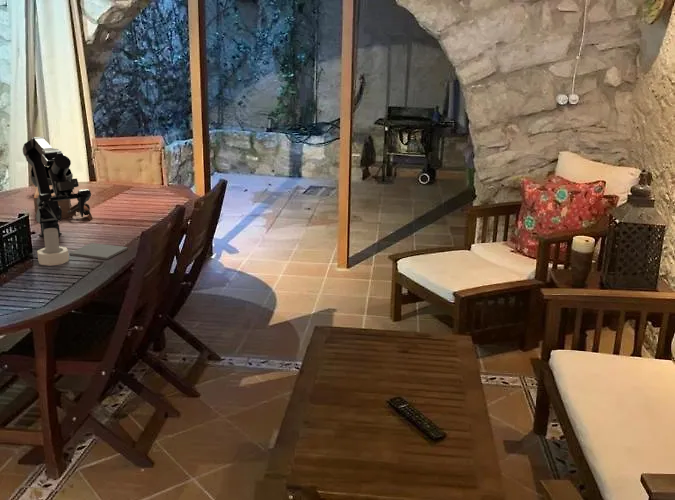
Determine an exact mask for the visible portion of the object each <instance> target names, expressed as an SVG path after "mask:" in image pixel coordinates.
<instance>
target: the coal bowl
mask: <svg viewBox="0 0 675 500" xmlns="http://www.w3.org/2000/svg"><path fill="white" fill-rule="evenodd" d="M44 166H45V165H44ZM51 167H52V166H45V170H46V175H47V179H48V183H49V186H50V185H52V182H51V179H50V175H49V172H48V171H49V169H50V168H51ZM30 169H31V170H30V180H31V183H32V184H33V186H34V187H35V188H36V187H37V184H36V180H35V176H34V171H33V167H32V166H31V168H30ZM73 176H74V175H73V172H72V170H71V168H69V169H68V172H67V173H66V177H67V179H68V180H69V181H71V179H74V178H73Z"/></svg>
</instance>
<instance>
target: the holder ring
mask: <svg viewBox="0 0 675 500" xmlns="http://www.w3.org/2000/svg"><path fill="white" fill-rule="evenodd" d="M59 248H60V252H59V253H52V254H48V253H46V250H45V247H43V248H40V249H38V250H36V254H37V260H38V261H37V262H38V263H39V265H41V266H49V267H50V266H57V265H63V264H65V263H67V262H69V261H70V257H69V256H70V254H69V250H68V248H67V247H66V246H59Z"/></svg>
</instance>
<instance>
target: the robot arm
mask: <svg viewBox="0 0 675 500" xmlns="http://www.w3.org/2000/svg"><path fill="white" fill-rule="evenodd" d="M22 153H23V156H24V158H25V160H26V162H27V163H28V164H29V165H30V166H31V168H32V167H33V171H34V176H35V180H36V184H37V188H38V192H39V196H38V198H37V205H38V210H37V214H36V216H35V220H36V223H39V224H40V230H41V231H40V232H41V233H40V234H39V235H38V236H39V237H40V238H44V229H47V228H56V229H57V230H58V236H60V235H61V236H62V234H63V232H61V231H60V225H59V222H62V218H61V216H62V210H61V208H60V206H59V205H58V201H60V200H69V199H70V200H77V204H78V207H79V211H80V213H79V214H80V217H81V218H83V217H84V204H85V203H86V204H87V202H88V201H89V200H90V199H91V197H92V193H91V190H90V189H89V188H87V189H86V188H84V189H79V190H78V191H77V192H76V193H73V192H74V190H75V188H78V187H79V180H78V178H77V177H76V178H72V179H71V181H69V180H68V179H67V177H66V173H67V172H68V169H70V167H71V165H72V161H71V159H70V158H69V157H68V156H66V155H65V154H64V152H62V150H61V149H59V148H54V147H52V146H51V145H50V144H49V142H48V141H47V140H46V137H44V136H33V137H31V138H30V139H29V140H28V141H26V142H25V143H24V144H23V147H22ZM45 166H46V167H49V166H52V167H51V168H50V169H49V171H48V172H49V175H50V179H51V182H52V188H53V190H54V193H55V196H52V195H51V191H50V187H49V183H48V179H47V175H46V170H45ZM41 218H42V219H41Z"/></svg>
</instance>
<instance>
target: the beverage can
mask: <svg viewBox="0 0 675 500" xmlns="http://www.w3.org/2000/svg"><path fill="white" fill-rule="evenodd" d="M43 239H44V246H45V247H44V248H45V250H46V253H48V254H52V253H59V252H60V248H59V247H60V239H59V235H58V230H57V229H56V228H47V229H44V237H43Z"/></svg>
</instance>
